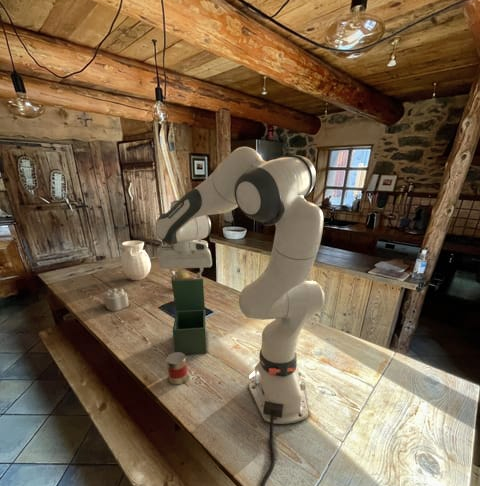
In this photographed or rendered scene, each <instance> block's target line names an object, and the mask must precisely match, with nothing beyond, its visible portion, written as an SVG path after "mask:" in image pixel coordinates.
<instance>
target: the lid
mask: <svg viewBox="0 0 480 486" xmlns="http://www.w3.org/2000/svg"><path fill="white" fill-rule="evenodd" d="M170 281H171V286H172V294H173V300H174V307H175V312H176V311H192V310H206V307H205V306H206V303H205V289H204V286H205V285H204V278H195V277H193V276H189V277H187V278H182V280H171V279H170Z"/></svg>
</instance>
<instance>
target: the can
mask: <svg viewBox="0 0 480 486" xmlns="http://www.w3.org/2000/svg"><path fill="white" fill-rule="evenodd" d="M186 358H187V357H186V354H185V355H184V354H183V353H181V352H175V351H174V352H172V353H170V354H169V355H167V356H166V367H167V373H168V375H167V376H168V380H169V383H170V384H172V385H181V384H183V383H185V382H186V381H187V379H188V367H187V359H186Z"/></svg>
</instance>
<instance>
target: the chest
mask: <svg viewBox="0 0 480 486" xmlns="http://www.w3.org/2000/svg"><path fill="white" fill-rule="evenodd" d="M206 319H207V318H206V309H202V310H184V311H176V310H175V315H174V321H173V326H172V337H173V338H172V339H173V346H174V353H175V352H181V353H183V354H184V355H185V356H186V355H195V354H197V355H198V354H199V355H200V354H207V321H206Z"/></svg>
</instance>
